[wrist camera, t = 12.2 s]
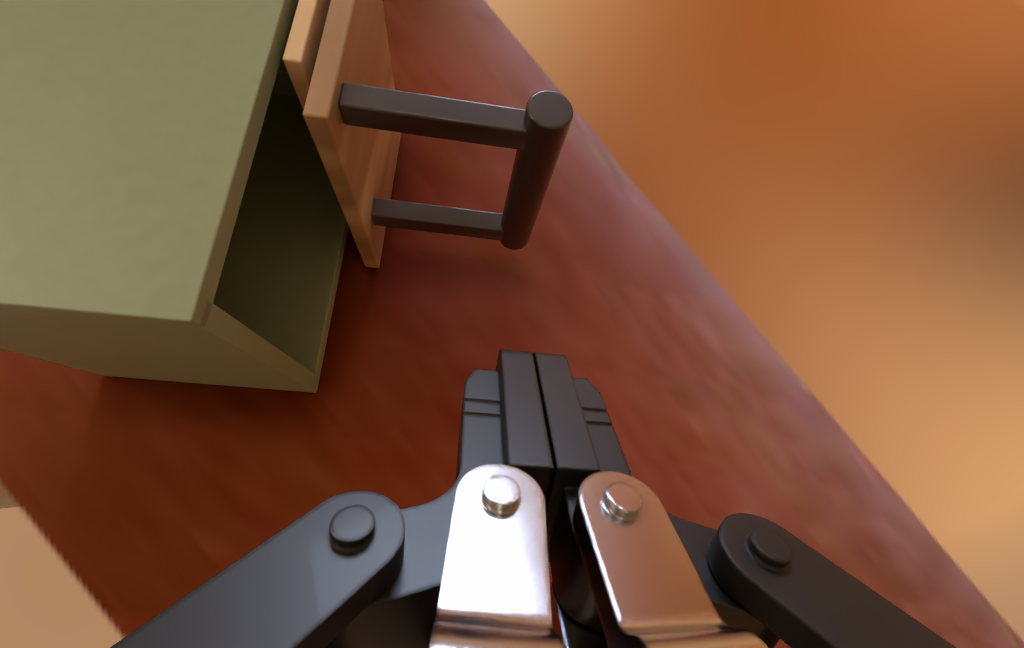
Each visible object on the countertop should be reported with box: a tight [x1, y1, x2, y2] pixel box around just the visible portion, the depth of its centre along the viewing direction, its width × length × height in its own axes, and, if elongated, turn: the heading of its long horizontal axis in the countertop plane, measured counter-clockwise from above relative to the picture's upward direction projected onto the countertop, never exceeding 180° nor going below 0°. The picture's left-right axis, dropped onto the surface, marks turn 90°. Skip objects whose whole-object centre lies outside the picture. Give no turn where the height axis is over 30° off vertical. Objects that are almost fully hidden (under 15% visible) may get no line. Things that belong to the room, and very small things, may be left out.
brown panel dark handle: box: [303, 0, 573, 268], centre depth 21 cm, size 9×9×12 cm
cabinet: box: [0, 0, 349, 393], centre depth 20 cm, size 11×18×12 cm, turn 177°
